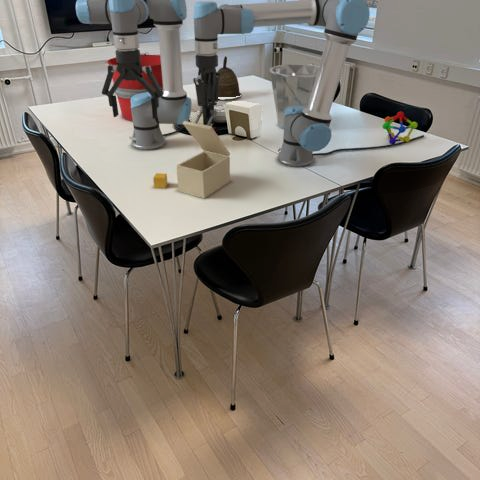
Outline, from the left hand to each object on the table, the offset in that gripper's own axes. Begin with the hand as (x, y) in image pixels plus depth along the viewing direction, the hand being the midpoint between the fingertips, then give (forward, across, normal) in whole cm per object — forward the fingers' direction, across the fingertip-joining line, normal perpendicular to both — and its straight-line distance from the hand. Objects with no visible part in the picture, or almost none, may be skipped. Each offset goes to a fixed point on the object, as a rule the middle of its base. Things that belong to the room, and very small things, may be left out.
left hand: (135, 116), depth 150 cm
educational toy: (+28, +102, +67) cm, 125 cm away
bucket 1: (+28, -29, +95) cm, 103 cm away
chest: (+28, +21, +8) cm, 36 cm away
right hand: (+5, +23, +11) cm, 26 cm away
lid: (+11, +22, +10) cm, 27 cm away
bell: (+28, +10, +140) cm, 143 cm away
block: (+28, +5, +6) cm, 29 cm away
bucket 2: (+28, +55, +88) cm, 107 cm away
